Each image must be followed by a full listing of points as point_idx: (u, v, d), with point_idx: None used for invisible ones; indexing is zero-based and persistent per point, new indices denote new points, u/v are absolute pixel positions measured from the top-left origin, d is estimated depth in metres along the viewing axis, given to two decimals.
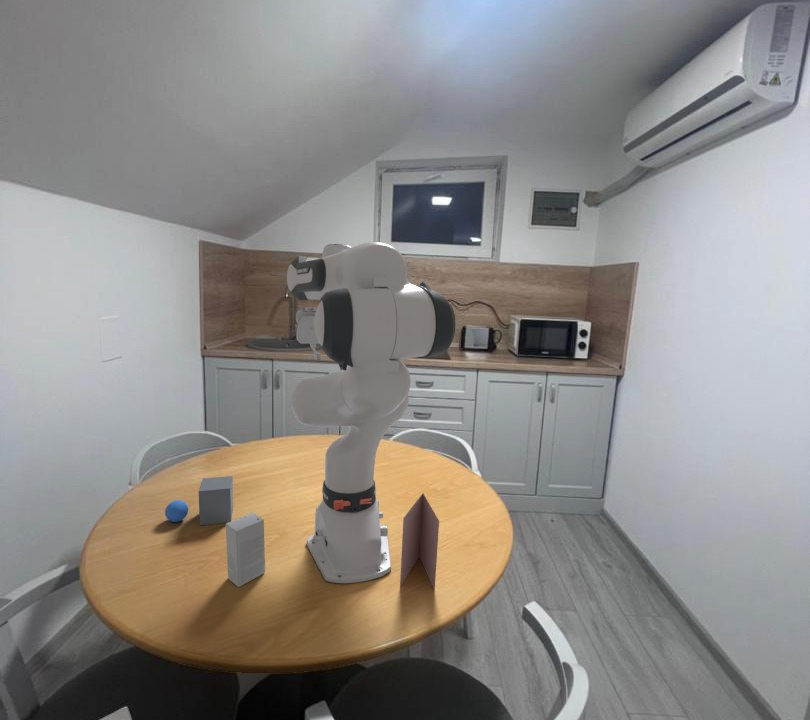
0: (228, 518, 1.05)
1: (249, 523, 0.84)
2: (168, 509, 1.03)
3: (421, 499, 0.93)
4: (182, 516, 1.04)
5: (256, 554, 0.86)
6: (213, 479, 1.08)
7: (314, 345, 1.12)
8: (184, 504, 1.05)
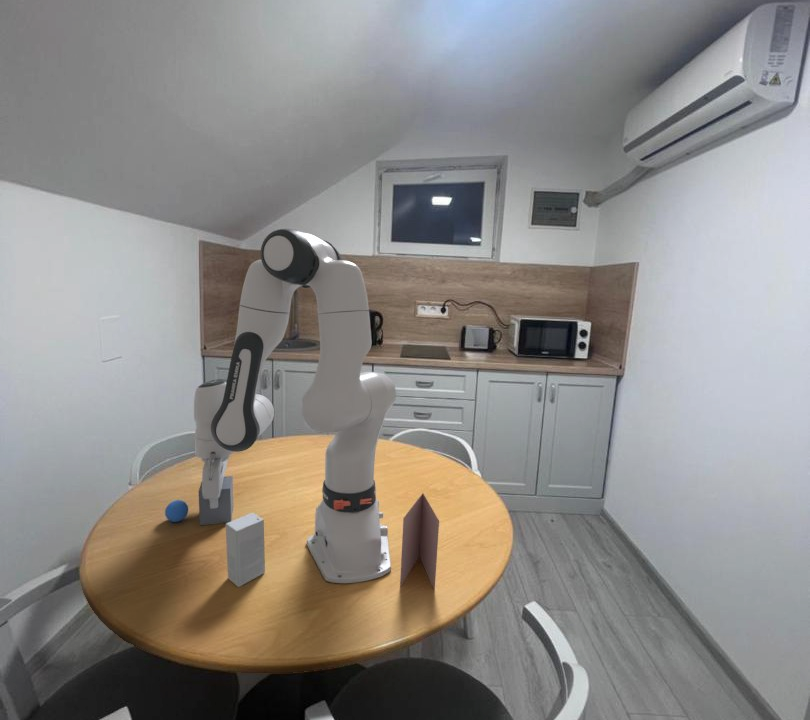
0: (228, 518, 1.05)
1: (249, 523, 0.84)
2: (168, 509, 1.03)
3: (421, 499, 0.93)
4: (182, 516, 1.04)
5: (256, 554, 0.86)
6: None
7: None
8: (184, 504, 1.05)
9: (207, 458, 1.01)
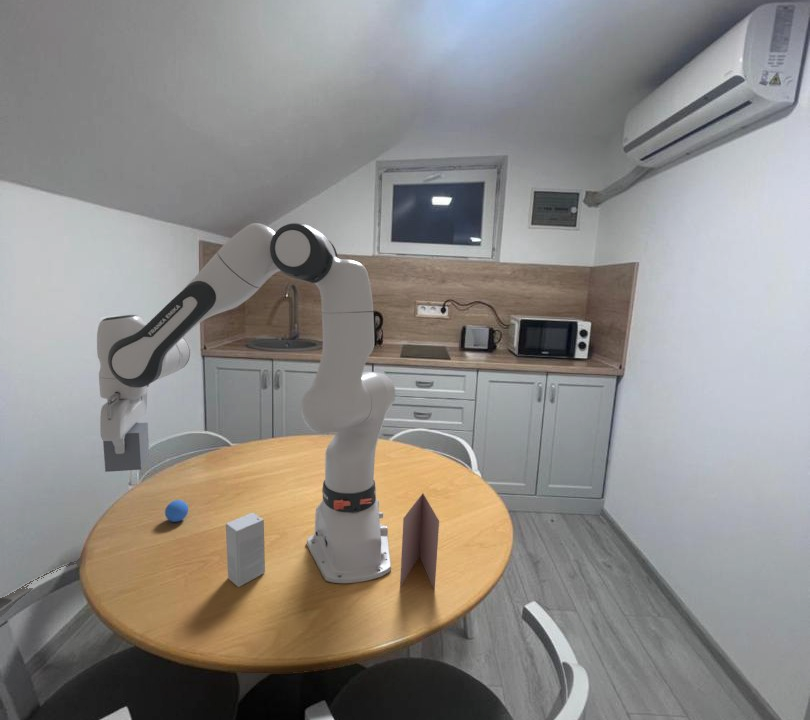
0: (137, 465, 0.98)
1: (249, 523, 0.84)
2: (168, 509, 1.03)
3: (421, 499, 0.93)
4: (182, 516, 1.04)
5: (256, 554, 0.86)
6: None
7: (123, 436, 0.94)
8: (184, 504, 1.05)
9: None
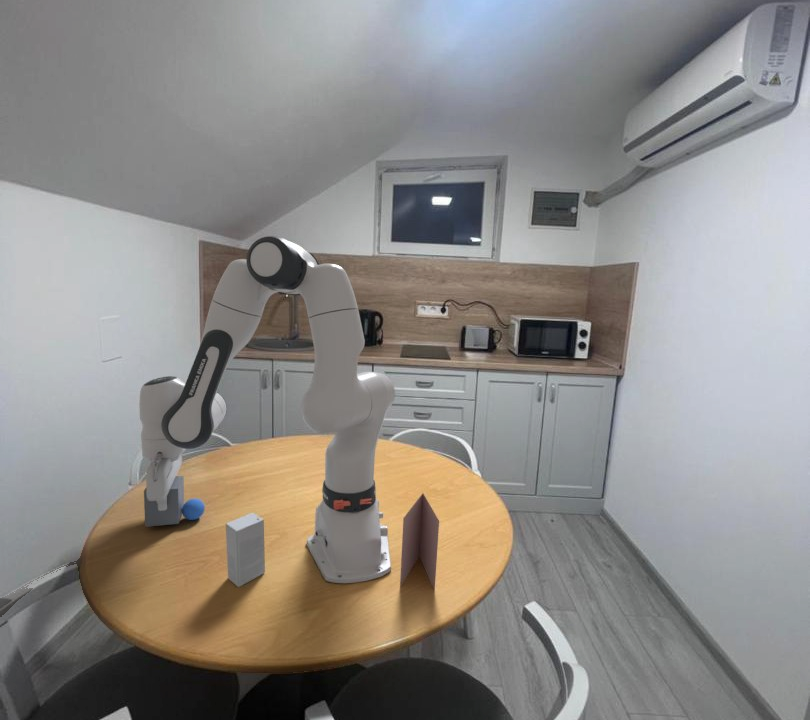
0: (175, 520, 1.01)
1: (249, 523, 0.84)
2: (197, 505, 1.05)
3: (421, 499, 0.93)
4: (190, 519, 1.04)
5: (256, 554, 0.86)
6: None
7: None
8: (201, 515, 1.06)
9: (154, 458, 0.97)
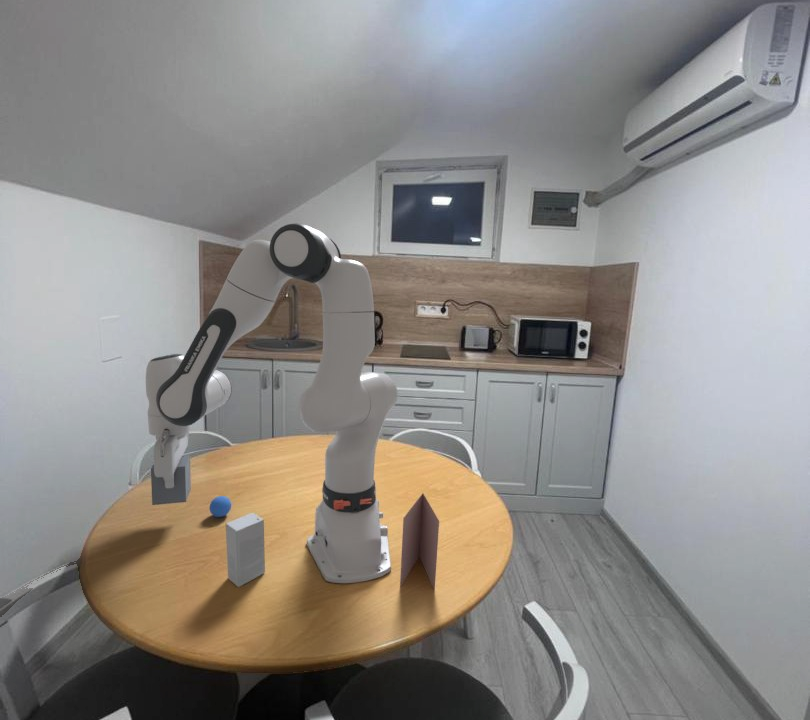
0: (182, 498, 1.01)
1: (249, 523, 0.84)
2: (220, 516, 1.07)
3: (421, 499, 0.93)
4: (216, 504, 1.06)
5: (256, 554, 0.86)
6: None
7: None
8: None
9: (160, 435, 0.97)
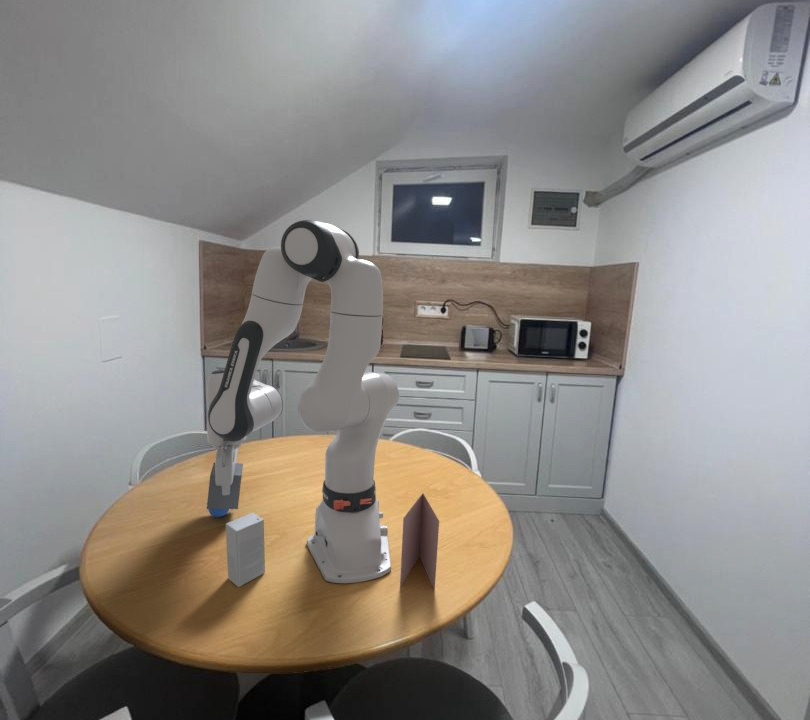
0: (235, 505, 1.05)
1: (249, 523, 0.84)
2: (220, 516, 1.07)
3: (421, 499, 0.93)
4: None
5: (256, 554, 0.86)
6: None
7: None
8: (208, 509, 1.07)
9: (219, 445, 1.01)
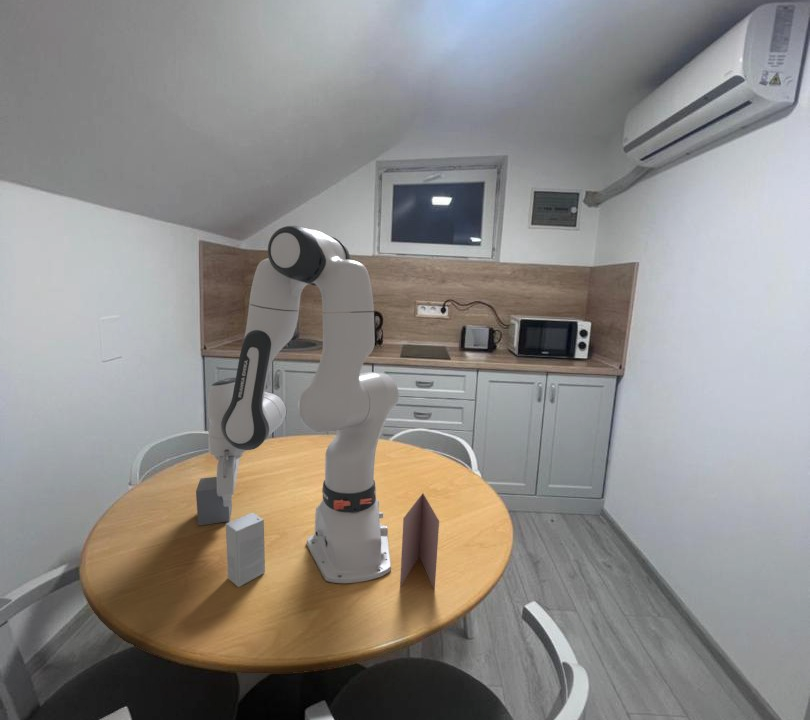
0: (226, 518, 1.05)
1: (249, 523, 0.84)
2: None
3: (421, 499, 0.93)
4: None
5: (256, 554, 0.86)
6: (211, 479, 1.08)
7: None
8: None
9: (221, 456, 1.02)
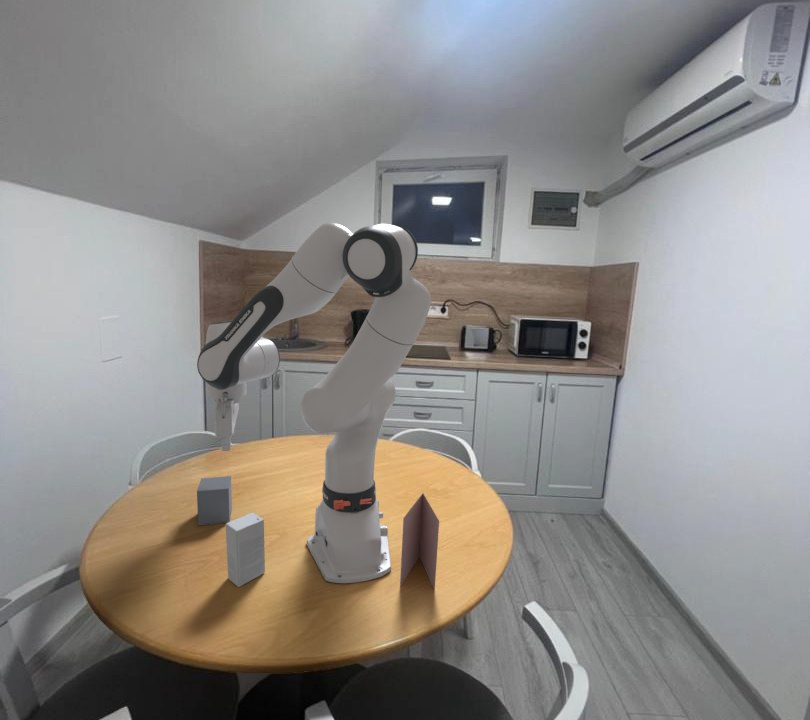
0: (226, 518, 1.05)
1: (249, 523, 0.84)
2: None
3: (421, 499, 0.93)
4: None
5: (256, 554, 0.86)
6: (212, 479, 1.08)
7: None
8: None
9: (219, 398, 0.99)
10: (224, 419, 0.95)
